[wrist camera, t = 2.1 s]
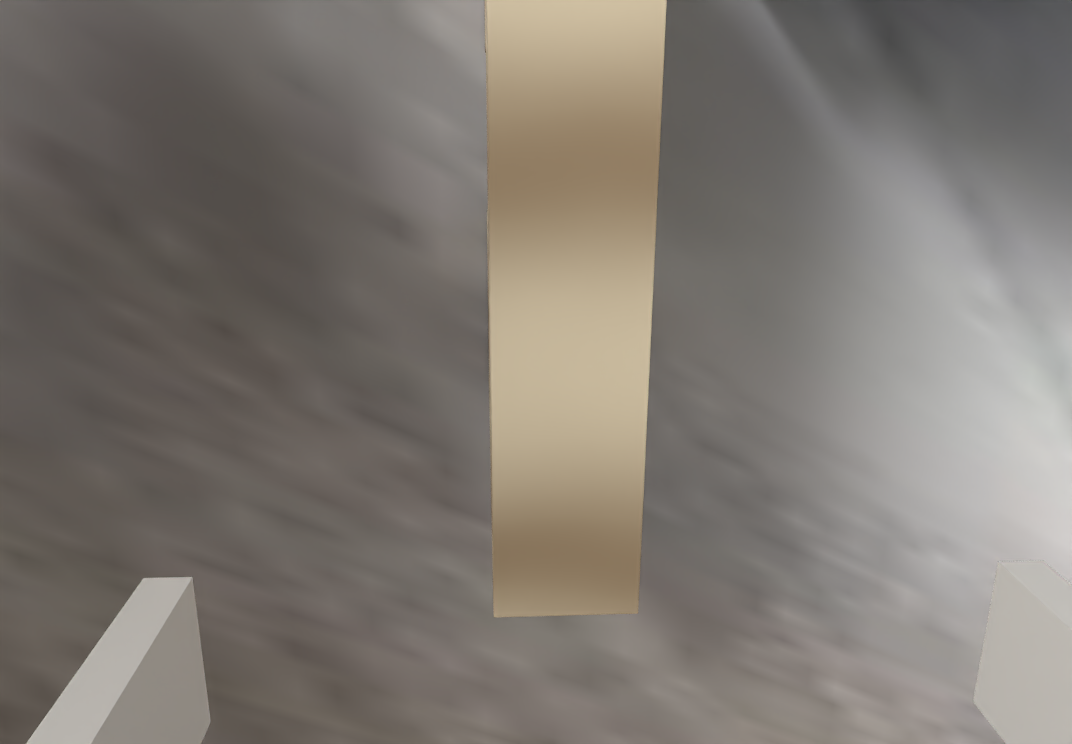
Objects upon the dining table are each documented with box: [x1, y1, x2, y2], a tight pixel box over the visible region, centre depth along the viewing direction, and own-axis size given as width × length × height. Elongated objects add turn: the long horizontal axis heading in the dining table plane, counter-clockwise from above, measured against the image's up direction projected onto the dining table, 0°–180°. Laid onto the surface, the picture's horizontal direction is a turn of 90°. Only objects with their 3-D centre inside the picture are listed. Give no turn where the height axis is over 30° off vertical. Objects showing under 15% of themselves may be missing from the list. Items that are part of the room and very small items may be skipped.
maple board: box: [485, 0, 667, 617], centre depth 22 cm, size 18×3×12 cm, turn 0°
